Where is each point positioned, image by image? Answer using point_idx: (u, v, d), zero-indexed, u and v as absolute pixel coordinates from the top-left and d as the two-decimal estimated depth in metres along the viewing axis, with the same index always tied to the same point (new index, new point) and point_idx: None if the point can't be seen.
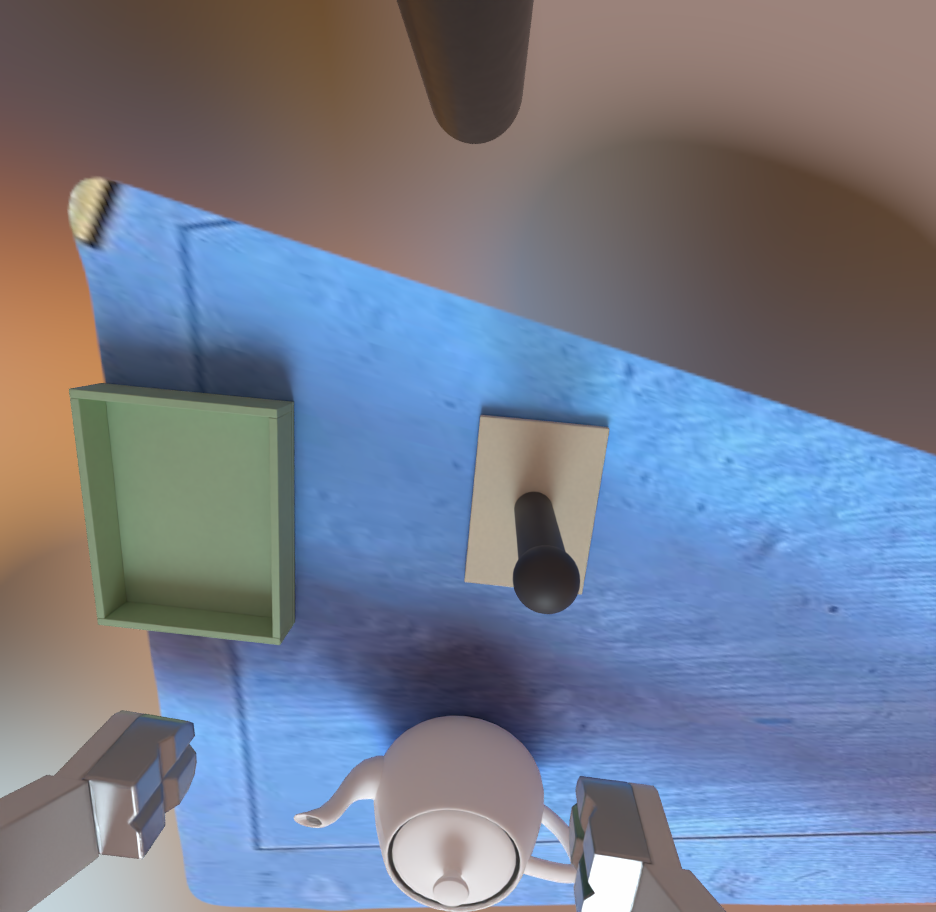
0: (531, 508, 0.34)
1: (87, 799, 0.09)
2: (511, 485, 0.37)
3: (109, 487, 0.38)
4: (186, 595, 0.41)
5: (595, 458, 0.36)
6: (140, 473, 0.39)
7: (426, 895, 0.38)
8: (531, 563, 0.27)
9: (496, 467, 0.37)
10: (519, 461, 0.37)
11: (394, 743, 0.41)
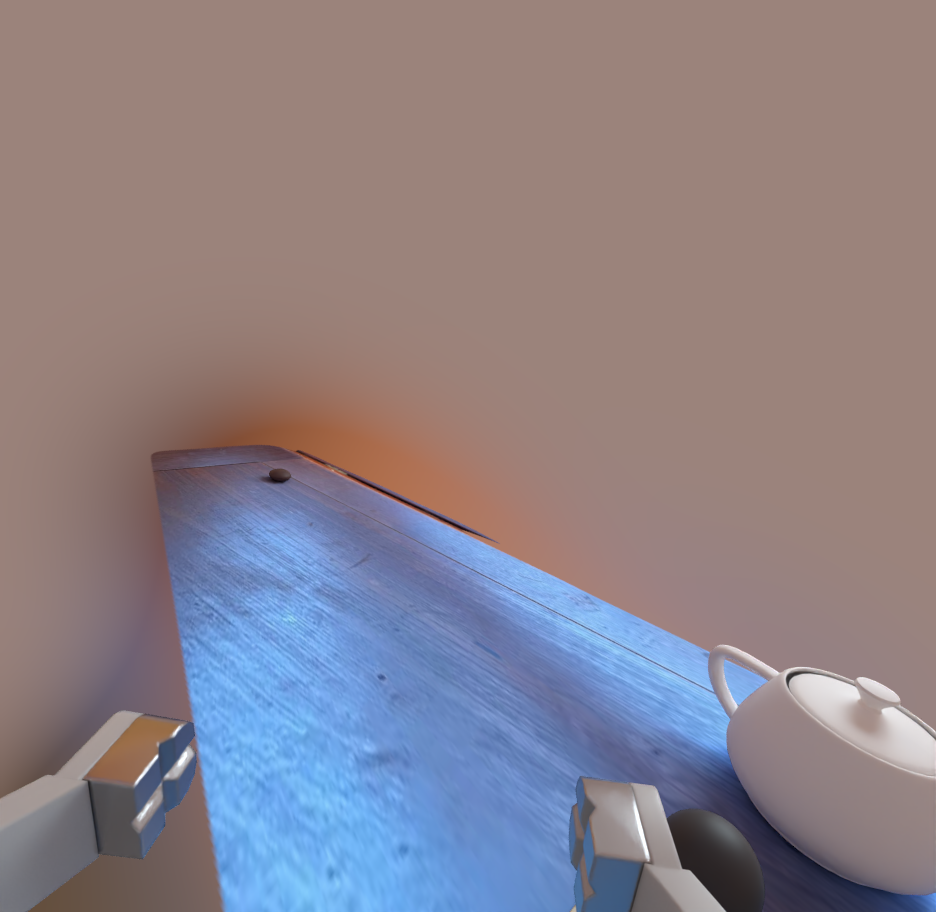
0: None
1: (87, 799, 0.09)
2: None
3: None
4: None
5: None
6: None
7: (899, 711, 0.36)
8: (731, 900, 0.16)
9: None
10: None
11: (933, 888, 0.29)
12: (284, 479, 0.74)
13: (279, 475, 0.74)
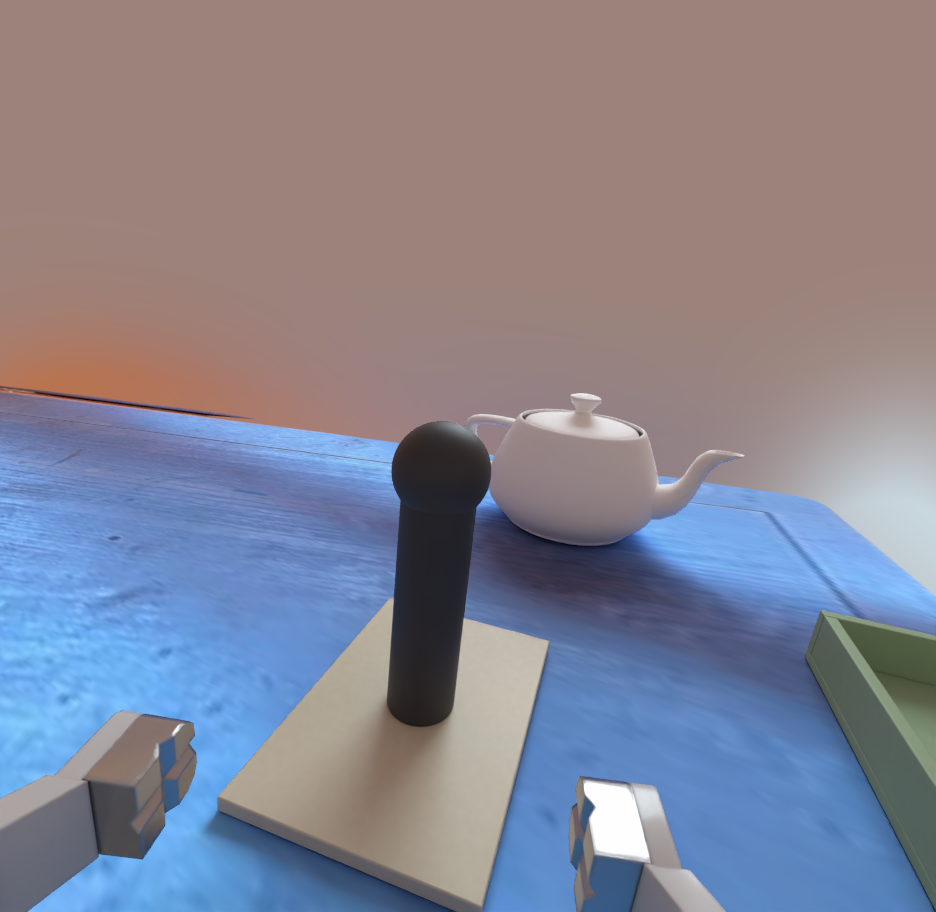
0: (426, 657, 0.19)
1: (87, 799, 0.09)
2: (447, 745, 0.20)
3: None
4: None
5: (277, 751, 0.19)
6: None
7: None
8: (458, 463, 0.17)
9: (468, 782, 0.18)
10: (421, 781, 0.18)
11: (640, 520, 0.37)
12: None
13: None
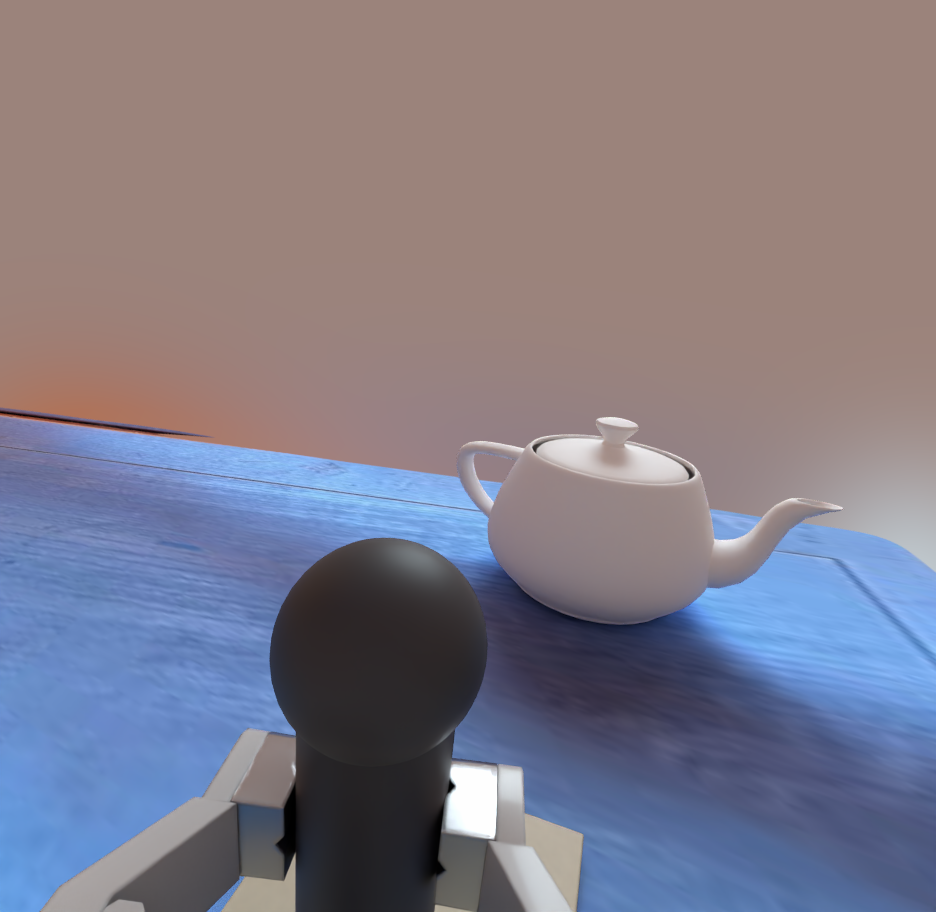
0: None
1: (235, 821, 0.09)
2: None
3: None
4: None
5: None
6: None
7: (639, 447, 0.34)
8: (408, 665, 0.07)
9: None
10: None
11: (695, 593, 0.27)
12: None
13: None
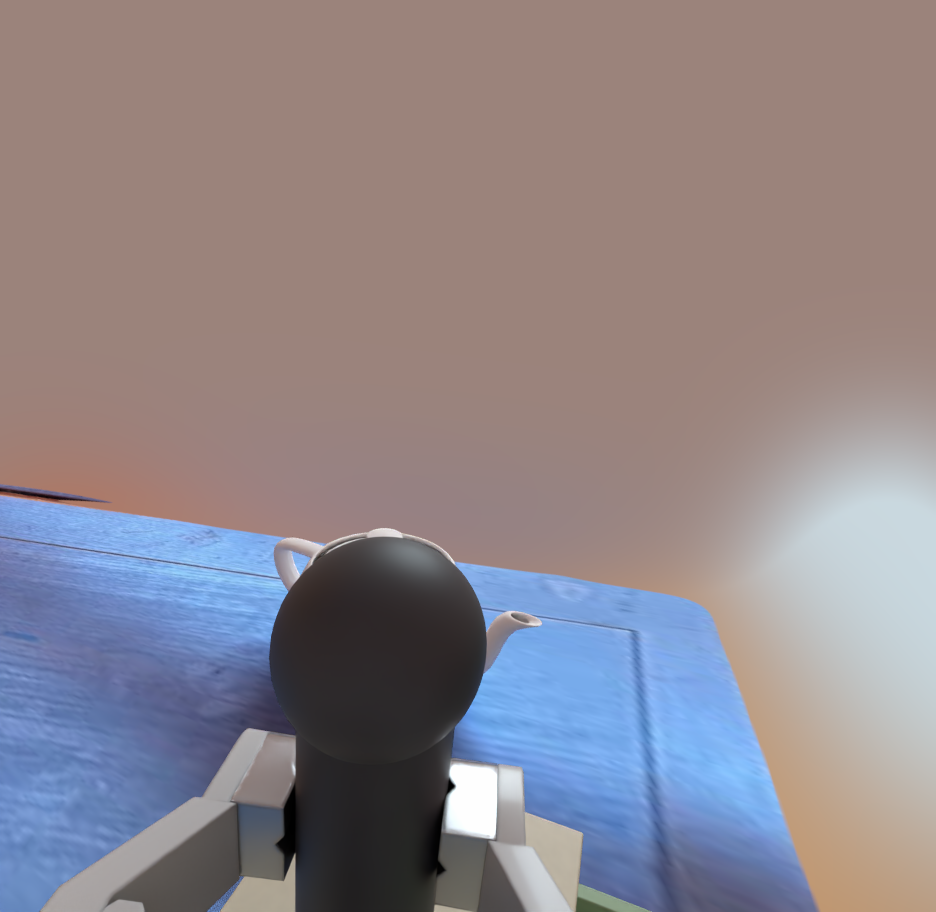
0: None
1: (235, 821, 0.09)
2: None
3: None
4: None
5: None
6: None
7: None
8: (407, 663, 0.07)
9: None
10: None
11: None
12: None
13: None
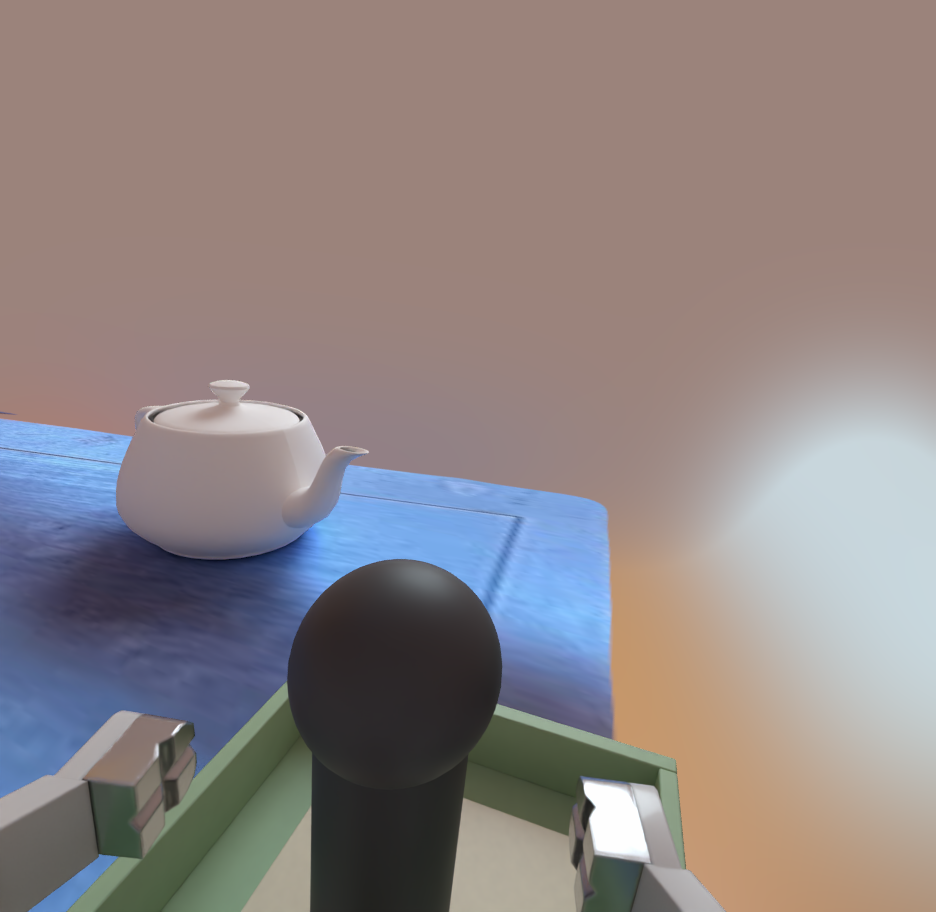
0: None
1: (87, 799, 0.09)
2: None
3: None
4: (500, 800, 0.18)
5: None
6: None
7: (284, 409, 0.38)
8: (426, 691, 0.07)
9: None
10: None
11: (261, 530, 0.31)
12: None
13: None
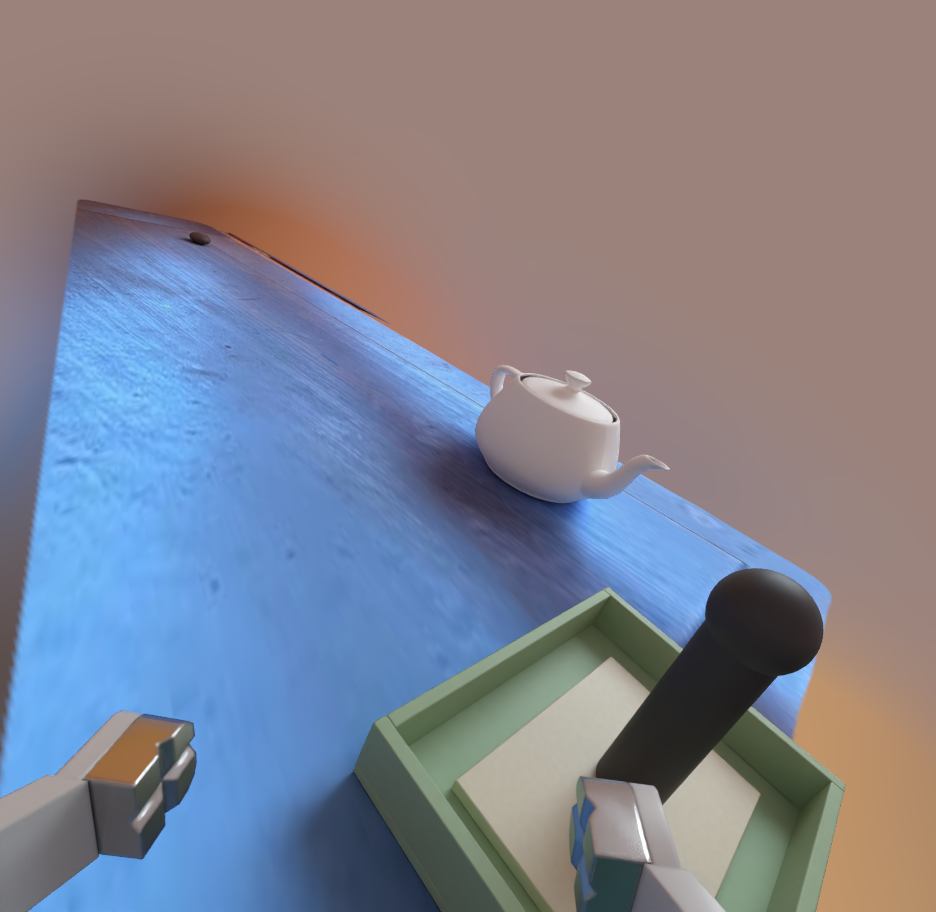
0: (660, 768, 0.20)
1: (87, 799, 0.09)
2: None
3: None
4: None
5: (502, 764, 0.21)
6: None
7: (602, 405, 0.48)
8: (795, 636, 0.16)
9: None
10: None
11: (565, 487, 0.43)
12: (203, 242, 0.81)
13: (198, 237, 0.81)
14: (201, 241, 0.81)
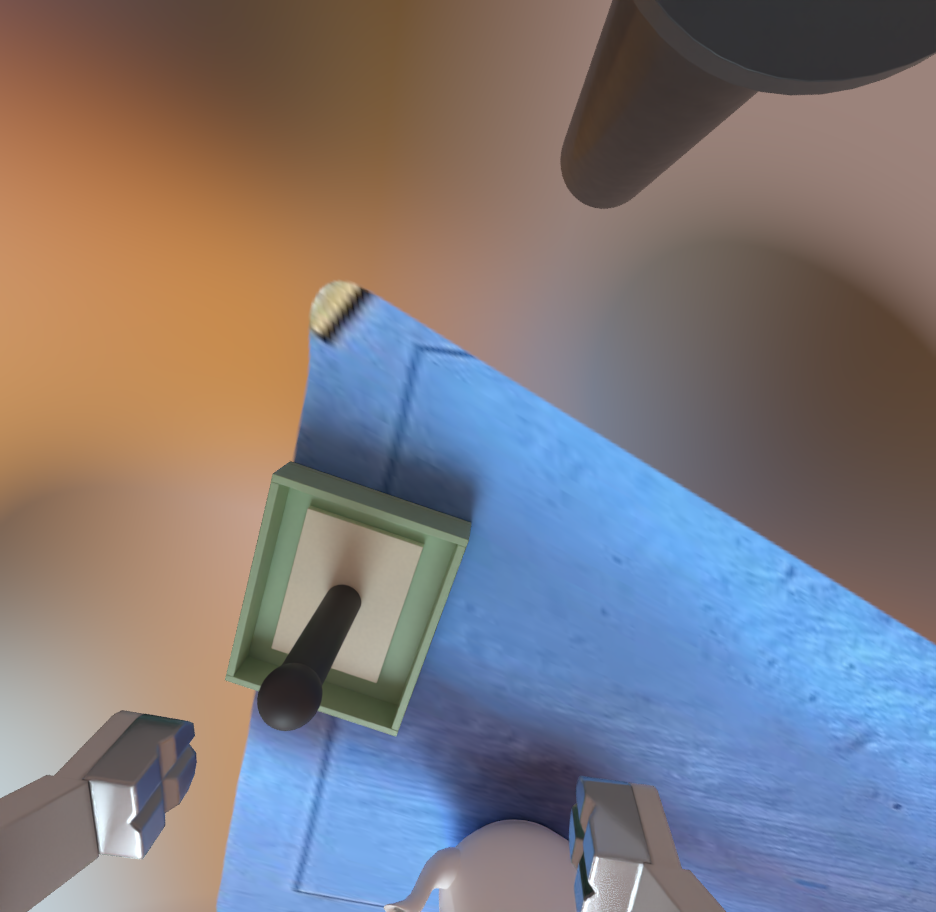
0: (327, 608, 0.36)
1: (87, 799, 0.09)
2: (326, 574, 0.39)
3: (270, 557, 0.39)
4: None
5: (406, 569, 0.39)
6: None
7: None
8: (273, 684, 0.29)
9: (315, 556, 0.39)
10: (336, 555, 0.39)
11: (472, 840, 0.43)
12: None
13: None
14: None
